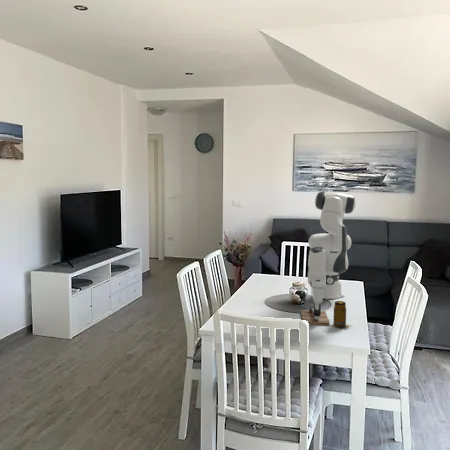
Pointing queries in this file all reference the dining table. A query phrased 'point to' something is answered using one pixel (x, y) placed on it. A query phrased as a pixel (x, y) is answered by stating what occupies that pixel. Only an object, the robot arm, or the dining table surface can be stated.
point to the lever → (315, 311)
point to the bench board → (310, 318)
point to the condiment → (340, 315)
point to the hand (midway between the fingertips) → (316, 307)
